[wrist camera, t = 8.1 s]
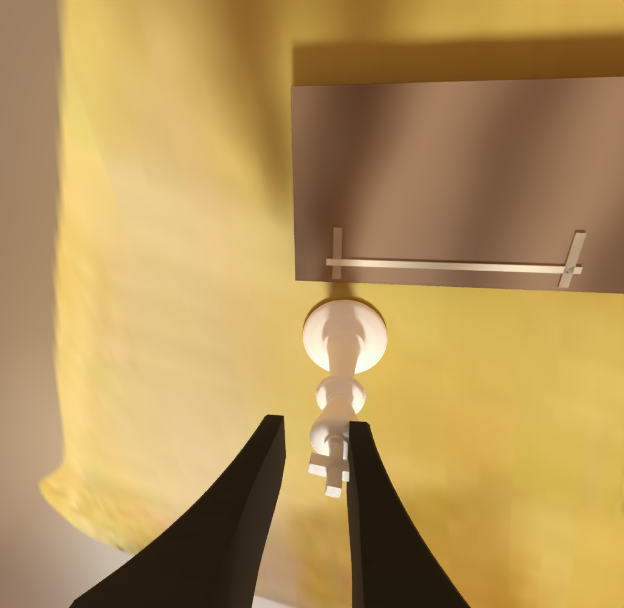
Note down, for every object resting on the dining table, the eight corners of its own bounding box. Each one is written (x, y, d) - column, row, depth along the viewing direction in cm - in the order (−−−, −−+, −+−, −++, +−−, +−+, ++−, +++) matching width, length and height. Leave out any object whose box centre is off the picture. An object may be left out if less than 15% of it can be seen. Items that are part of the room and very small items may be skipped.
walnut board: (779, 81, 12) (838, 69, 10) (680, 285, 15) (715, 298, 14) (297, 93, 14) (290, 85, 12) (300, 271, 17) (295, 280, 16)
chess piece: (309, 287, 18) (261, 413, 9) (397, 304, 18) (440, 451, 9) (297, 360, 20) (248, 523, 11) (376, 376, 20) (393, 557, 11)
